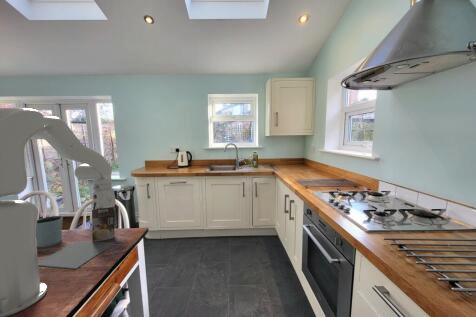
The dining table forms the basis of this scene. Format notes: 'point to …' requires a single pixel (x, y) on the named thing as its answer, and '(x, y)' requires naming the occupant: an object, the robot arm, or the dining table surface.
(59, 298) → the dining table surface
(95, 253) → the mat
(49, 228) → the teal planter pot
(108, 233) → the coffee box
